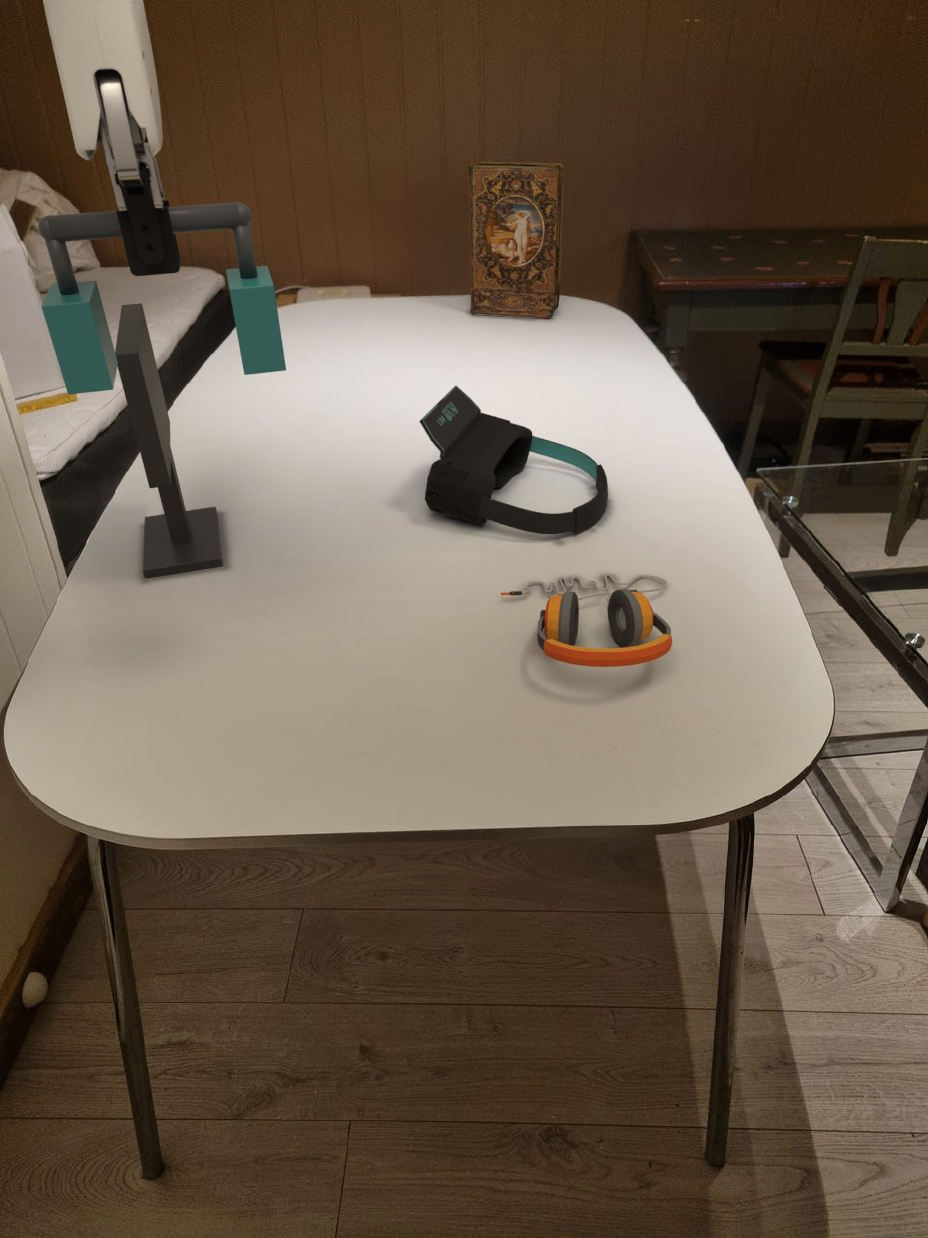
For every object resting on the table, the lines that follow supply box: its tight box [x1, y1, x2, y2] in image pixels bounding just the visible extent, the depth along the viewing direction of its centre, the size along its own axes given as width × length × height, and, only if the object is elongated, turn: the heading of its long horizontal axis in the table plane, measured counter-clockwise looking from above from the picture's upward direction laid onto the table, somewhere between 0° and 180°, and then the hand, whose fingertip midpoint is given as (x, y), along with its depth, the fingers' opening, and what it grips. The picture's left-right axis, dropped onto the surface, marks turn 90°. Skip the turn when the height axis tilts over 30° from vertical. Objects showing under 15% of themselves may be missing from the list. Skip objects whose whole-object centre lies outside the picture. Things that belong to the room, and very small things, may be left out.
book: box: [467, 161, 565, 319], centre depth 155 cm, size 16×6×25 cm, turn 74°
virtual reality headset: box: [418, 385, 609, 536], centre depth 99 cm, size 19×22×10 cm
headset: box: [37, 201, 287, 395], centre depth 60 cm, size 15×6×11 cm, turn 105°
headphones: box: [500, 573, 673, 668], centre depth 79 cm, size 17×5×20 cm
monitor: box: [114, 302, 224, 579], centre depth 88 cm, size 8×16×24 cm, turn 16°
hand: (156, 267), depth 59 cm, fingers closed on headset
